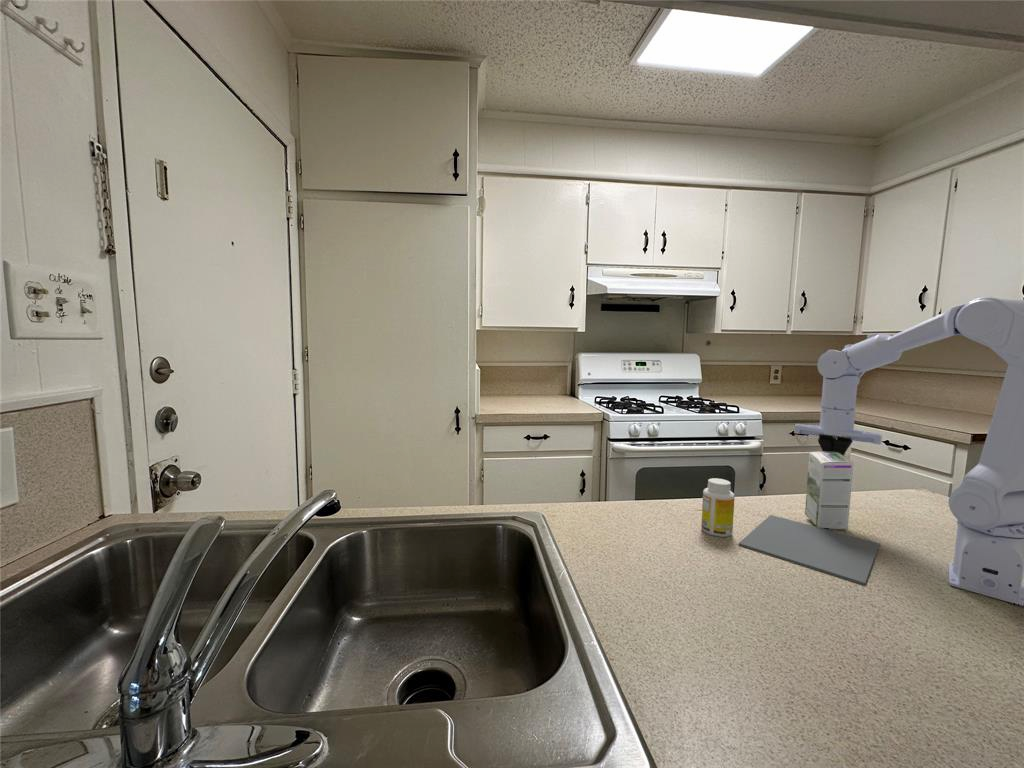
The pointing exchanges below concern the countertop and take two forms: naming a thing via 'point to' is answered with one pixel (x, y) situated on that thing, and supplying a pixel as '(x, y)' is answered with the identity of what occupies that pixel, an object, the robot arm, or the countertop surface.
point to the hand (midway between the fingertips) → (832, 471)
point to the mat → (814, 548)
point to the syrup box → (829, 489)
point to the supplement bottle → (718, 508)
